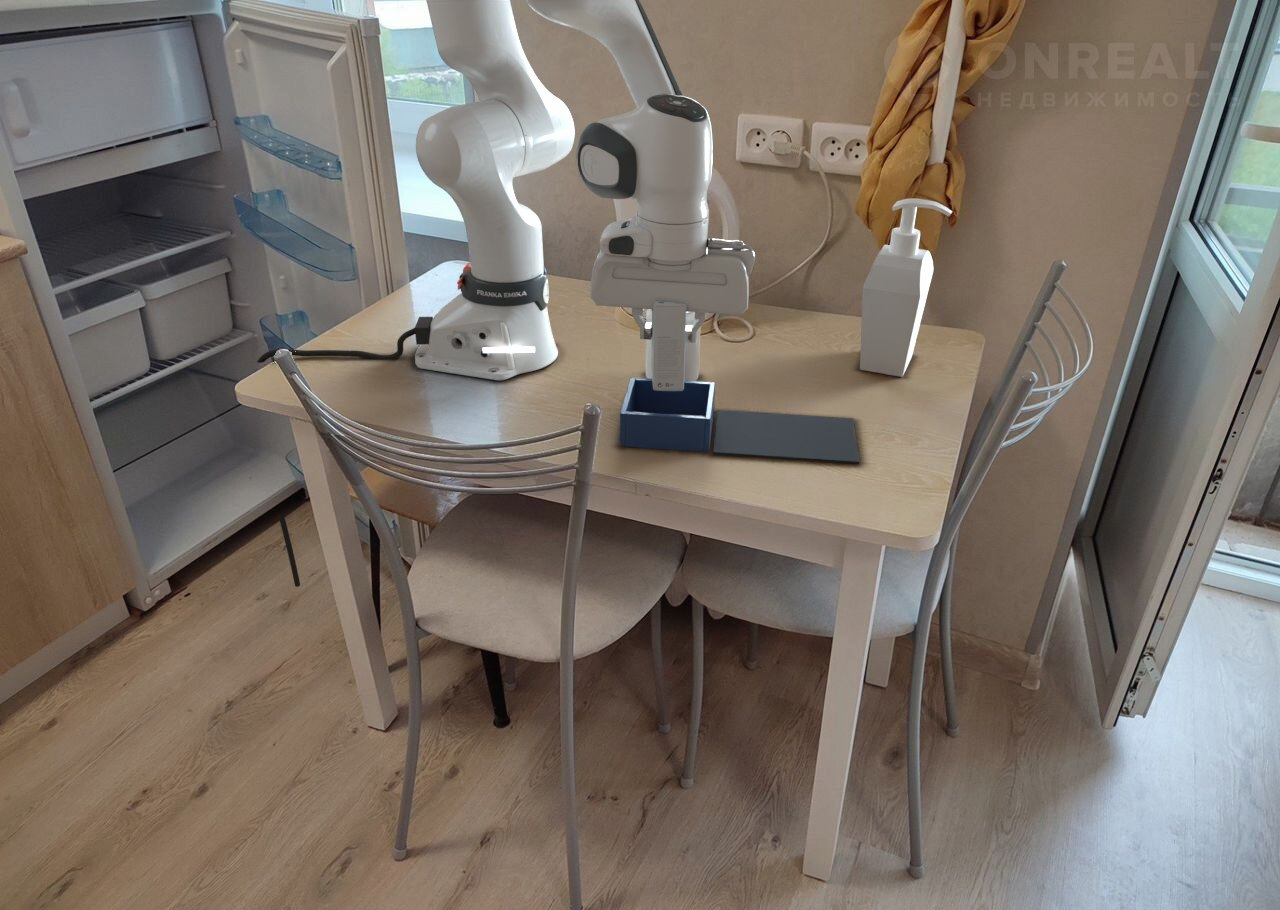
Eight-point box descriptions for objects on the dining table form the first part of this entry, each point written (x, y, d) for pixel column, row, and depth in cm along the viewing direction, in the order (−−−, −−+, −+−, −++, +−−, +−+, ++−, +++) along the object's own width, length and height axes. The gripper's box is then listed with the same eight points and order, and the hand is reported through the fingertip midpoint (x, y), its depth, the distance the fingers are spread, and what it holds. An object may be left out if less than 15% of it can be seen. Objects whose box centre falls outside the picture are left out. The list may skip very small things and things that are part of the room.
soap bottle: (917, 385, 142) (946, 216, 129) (851, 373, 145) (873, 207, 132) (930, 354, 152) (958, 194, 138) (868, 343, 155) (890, 186, 142)
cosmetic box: (684, 391, 124) (689, 306, 118) (650, 391, 124) (654, 305, 117) (681, 371, 129) (685, 287, 123) (648, 370, 129) (651, 287, 123)
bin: (620, 446, 126) (619, 413, 123) (630, 408, 135) (630, 377, 132) (708, 452, 124) (710, 419, 122) (713, 413, 134) (715, 382, 131)
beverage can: (664, 395, 139) (666, 319, 133) (635, 374, 145) (635, 301, 138) (709, 382, 142) (712, 308, 136) (679, 363, 148) (681, 291, 142)
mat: (712, 454, 124) (712, 452, 124) (717, 412, 134) (717, 409, 134) (859, 464, 122) (859, 461, 122) (852, 420, 132) (852, 418, 132)
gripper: (756, 233, 118) (747, 334, 125) (595, 224, 120) (596, 324, 127) (755, 250, 112) (746, 355, 120) (587, 239, 114) (588, 343, 121)
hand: (667, 339), depth 123 cm, fingers closed on cosmetic box, 4 cm apart
